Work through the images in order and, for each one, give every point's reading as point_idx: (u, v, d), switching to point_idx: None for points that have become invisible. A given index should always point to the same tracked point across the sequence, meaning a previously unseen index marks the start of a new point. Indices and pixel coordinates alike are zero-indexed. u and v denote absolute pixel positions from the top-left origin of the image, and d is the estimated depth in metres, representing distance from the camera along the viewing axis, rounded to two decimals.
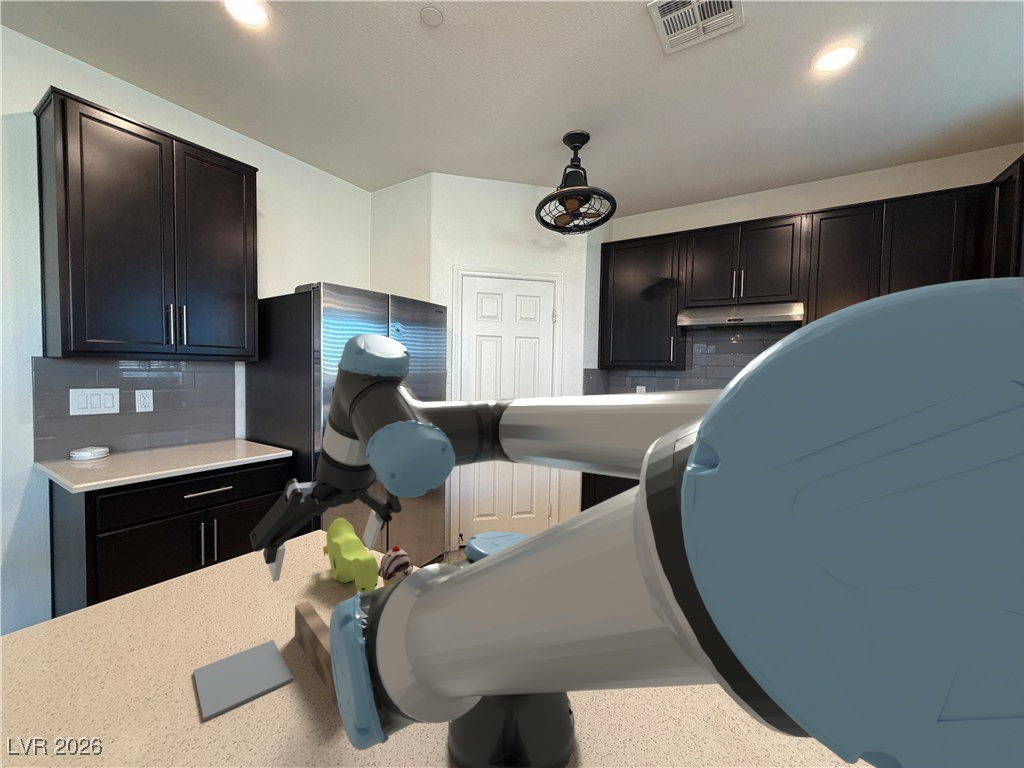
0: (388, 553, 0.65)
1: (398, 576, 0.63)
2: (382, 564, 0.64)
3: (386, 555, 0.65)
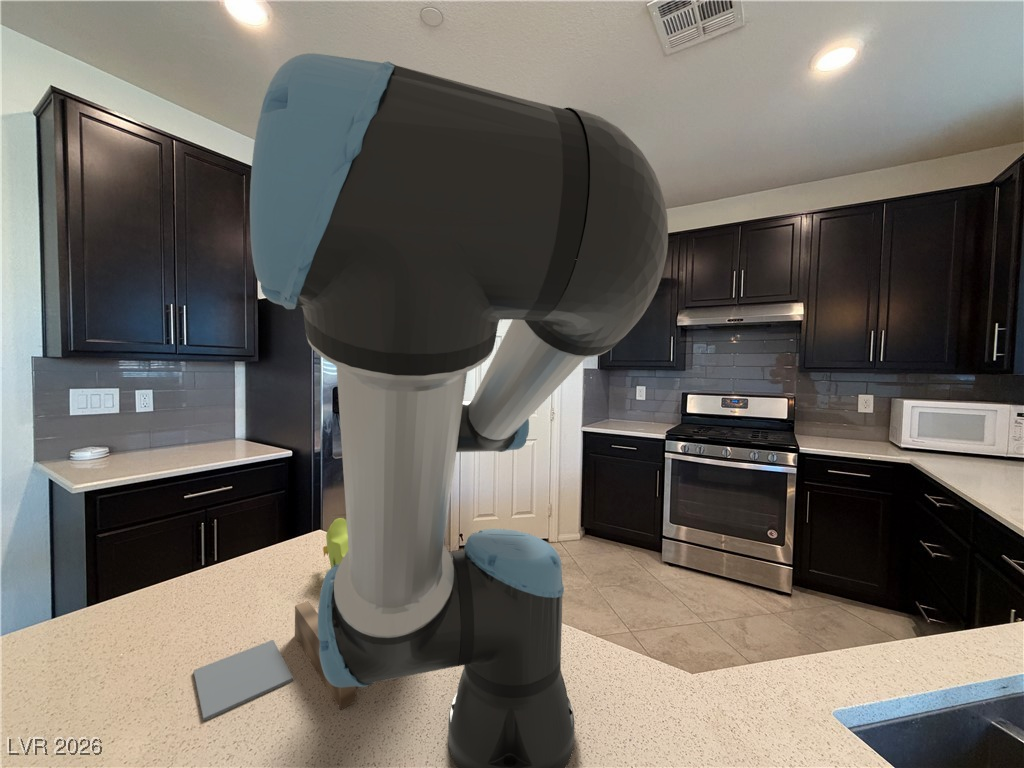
0: None
1: None
2: None
3: None
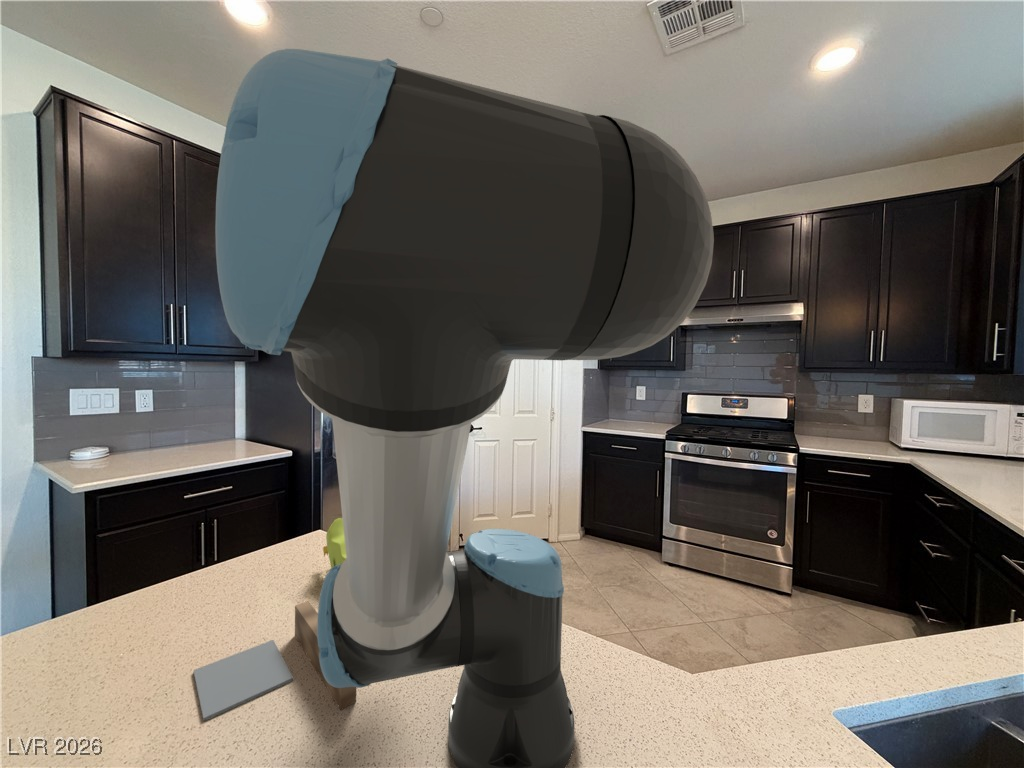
0: None
1: None
2: None
3: None
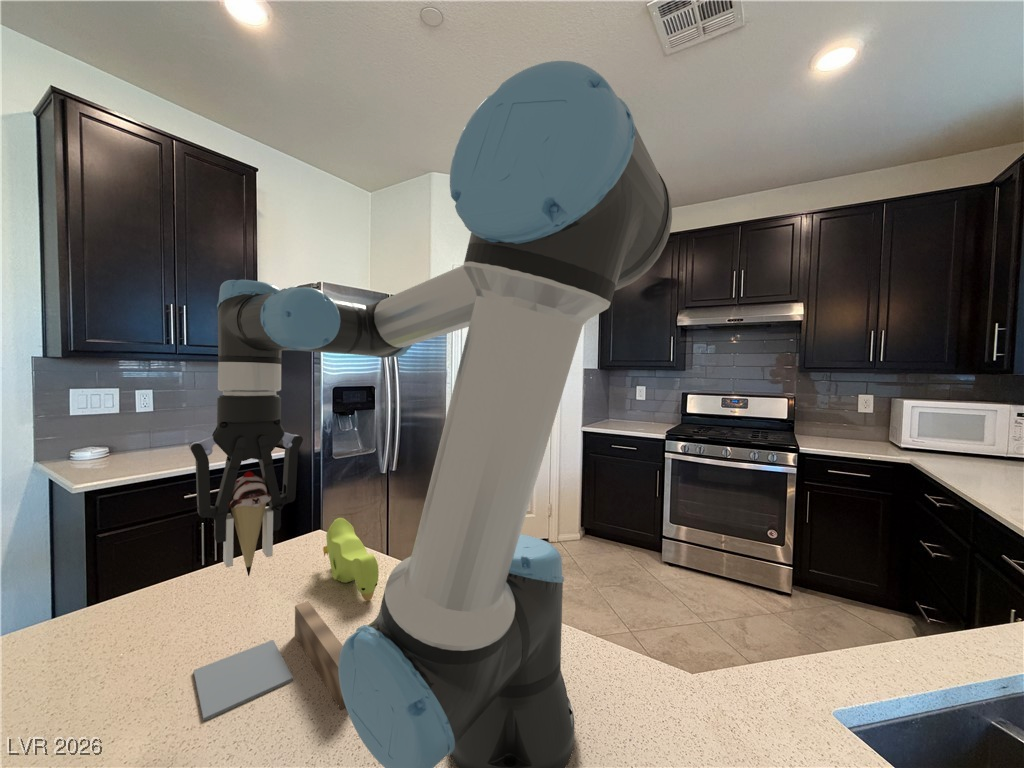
0: (238, 479, 0.56)
1: (245, 503, 0.54)
2: None
3: None
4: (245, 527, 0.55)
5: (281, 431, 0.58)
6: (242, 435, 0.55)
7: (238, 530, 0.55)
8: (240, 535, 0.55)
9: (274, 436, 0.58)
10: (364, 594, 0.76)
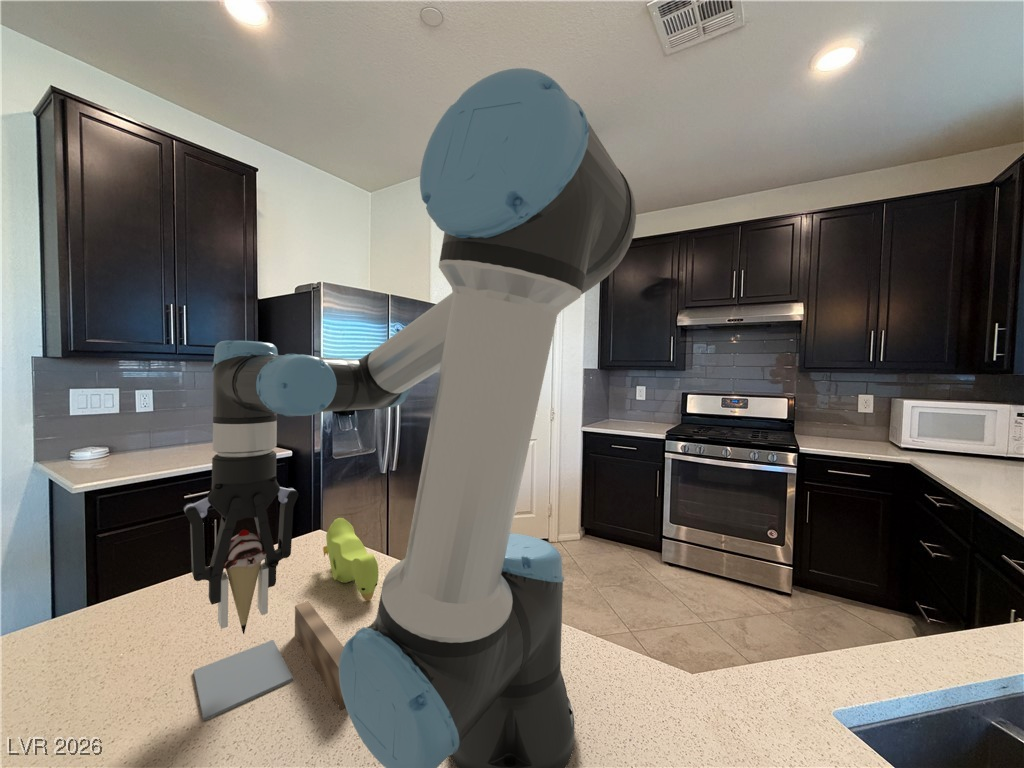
0: (233, 538, 0.56)
1: (239, 564, 0.54)
2: None
3: None
4: (240, 587, 0.55)
5: (276, 487, 0.58)
6: (237, 495, 0.55)
7: (233, 590, 0.55)
8: (235, 595, 0.55)
9: (269, 493, 0.57)
10: (364, 594, 0.76)
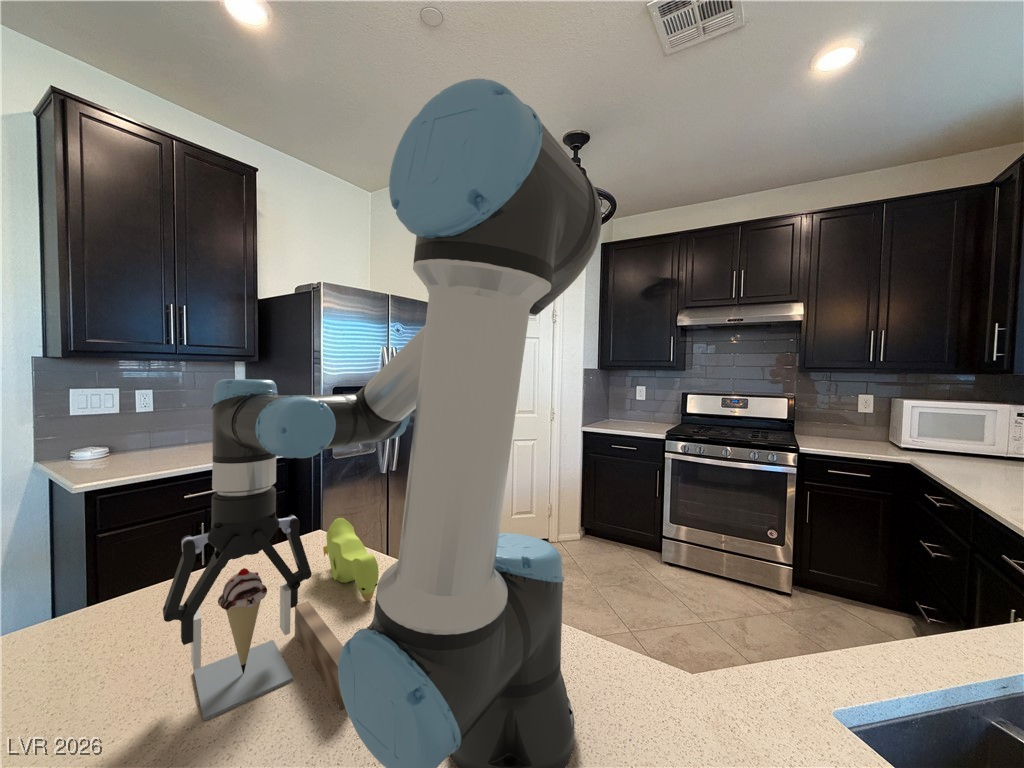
0: (232, 577, 0.56)
1: (239, 605, 0.54)
2: (223, 590, 0.55)
3: (229, 580, 0.56)
4: (240, 627, 0.55)
5: (275, 522, 0.58)
6: (238, 533, 0.55)
7: (233, 630, 0.55)
8: (235, 635, 0.55)
9: (270, 529, 0.58)
10: (364, 594, 0.76)
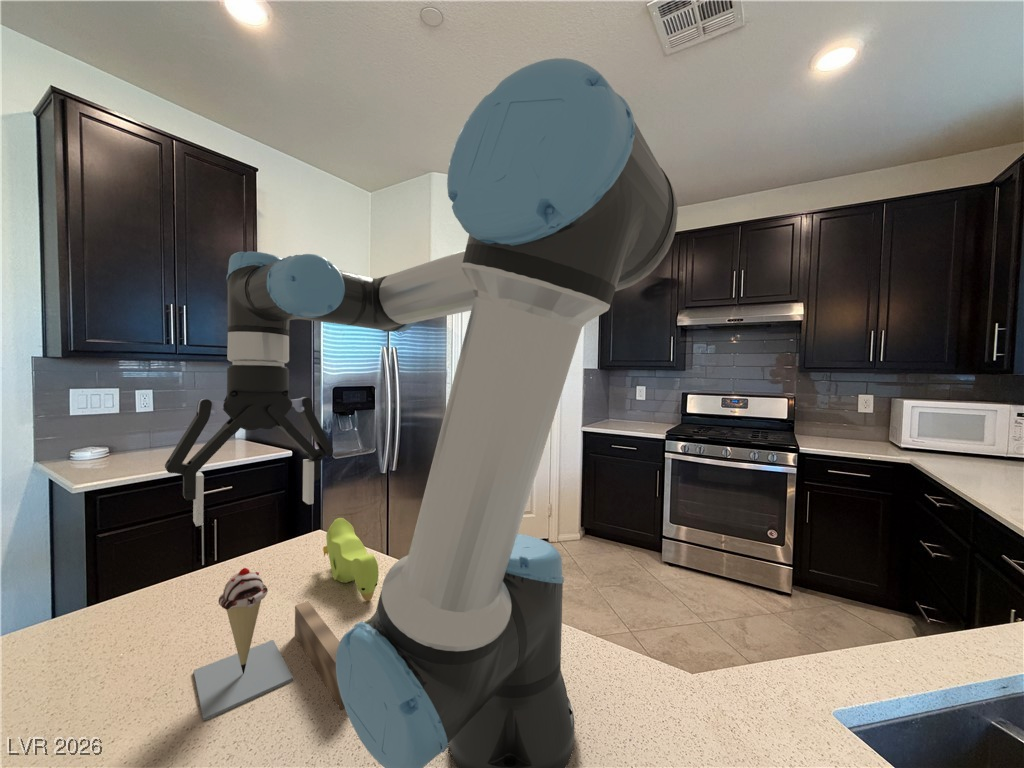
0: (233, 577, 0.56)
1: (240, 605, 0.54)
2: (224, 590, 0.55)
3: (230, 579, 0.56)
4: (240, 627, 0.55)
5: (288, 400, 0.59)
6: (254, 406, 0.56)
7: (233, 629, 0.55)
8: (235, 634, 0.55)
9: (284, 407, 0.59)
10: (364, 594, 0.76)
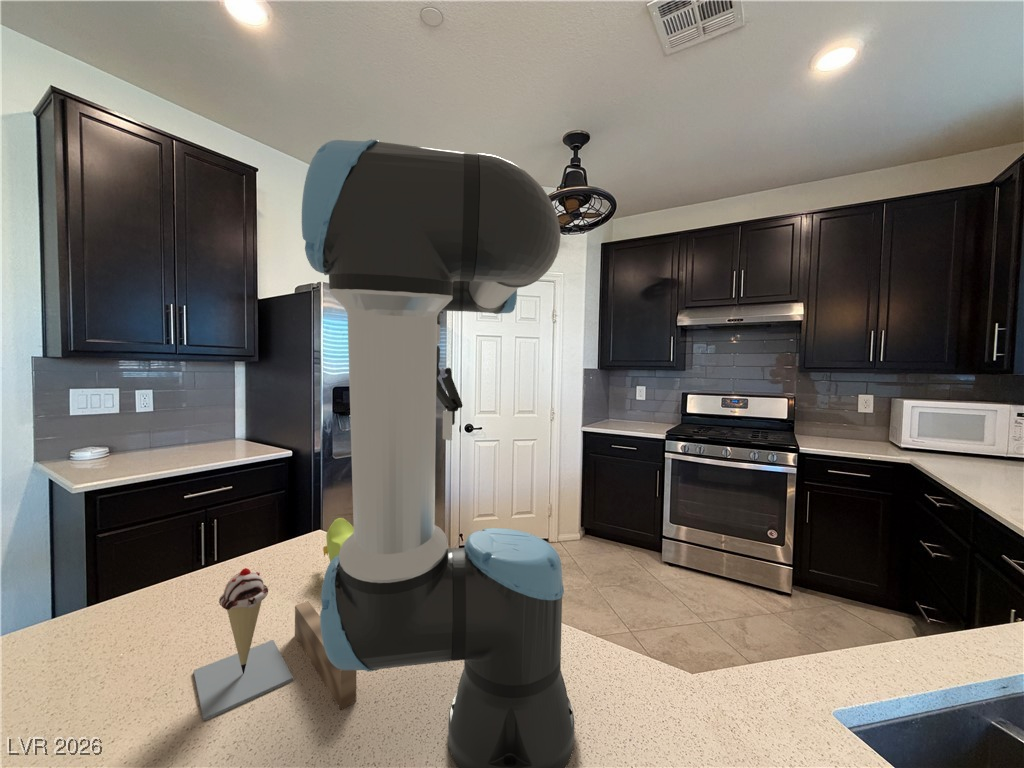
0: (234, 577, 0.56)
1: (240, 605, 0.54)
2: (225, 590, 0.55)
3: (230, 580, 0.56)
4: (241, 627, 0.55)
5: (438, 369, 0.89)
6: None
7: (233, 629, 0.55)
8: (235, 635, 0.55)
9: (436, 373, 0.88)
10: None
